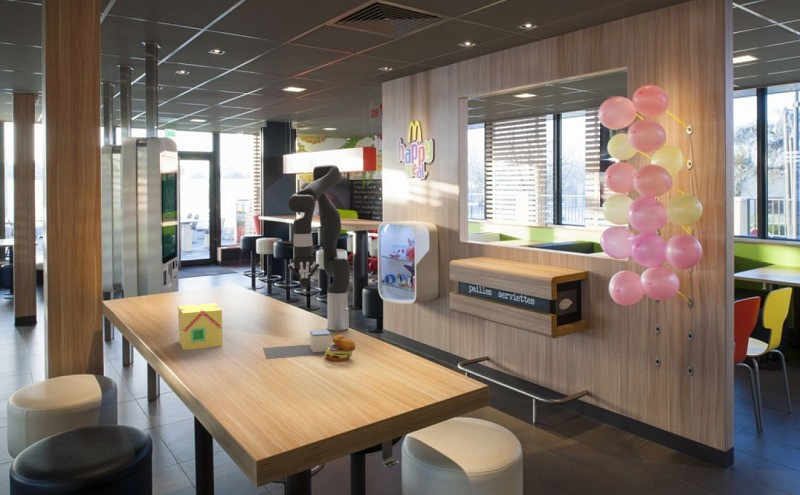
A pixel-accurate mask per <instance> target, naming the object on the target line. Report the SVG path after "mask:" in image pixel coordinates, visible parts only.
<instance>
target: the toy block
mask: <svg viewBox="0 0 800 495" xmlns="http://www.w3.org/2000/svg"><path fill="white" fill-rule="evenodd" d="M177 310H178V311H177V315H178V342H179V344H180V346H181V348H182V349H183V351H187V350H197V349H206V348H215V347H216V348H217V347H223V309H222V308H220V307H219V306H218V304H217V303H203V304H196V305H195V304H190V305H188V304H187V305H179V306H177Z"/></svg>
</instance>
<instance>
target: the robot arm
mask: <svg viewBox="0 0 800 495" xmlns="http://www.w3.org/2000/svg"><path fill="white" fill-rule="evenodd" d="M312 175H313V176H312V177H313V178H312V179H313V181H311V182H309V183H308V184H306V186H305V187H304V188H303V189H302V190H299V191H297V192H295V193H293V194H292V195H291V196H290V197H289V199H288V201H287V202H288V204H287V206H288V208H289V210H290V212H293V213H302V214H303V213H304V215H303V216H302V217H299V218H296V219H294V221H293V259H292V262H291V263H290V264H287V268H288V269H289V270H290V271H291V272H292V273H293V275H294V276H295V277H296V278H299V281H300V284H299V285H300V287H302V288H307V287H308V285H309V278H310V277H313V275H314V274H315V272H316V271H317V270H318V268H319V267H320V264H319V263H318V262H316V261H315V259H314V253H313V252H314V249H313V248H314V247H313V246H314V243H313V234H312V223H313V222H312V221H313V217H314V212H315V209H316V203H317V206H318V213H319V214H318V215H319V222H320V223H319V224H320V229H321V237H322V240H321V241H322V250H323V254H322V255H323V257H322V258H323V270H324V273H325V275H327V276H328V277H332V278H333V282H332V283H331V284H329V285H328V286H327V288H326V289H327V290H326V291H327V324H326V325H327V330H328V331H345V330H349V329H348V328H349V326H350V325H349V323H350V322H349V320H350V319H349V318H350V317H349V316H350V313H349V311H350V310H349V308H348V294H349V292H348V289H349V286H350V279H351V277H350V276H351V266H350V262H349V260H348V259H346V257H345V258H344V257H339V256H338V250H337V245H338V244H337V243H338V240H339V237H340V236H341V235H340V234H341V232H342V222H341V221H342V220H341V214H340V212H339V210H338V208H337V207H336V206H335V205H334V204H333V203H334V202H332V201H331V199H330V198H329V196H328V193H327V191H328V190H330V189H332V188H333V187H335V186H336V185H338V183H339V182H340V180H341V172H340V169H339V167H338V166H336V165H334V164H326V165H316V166H314V167H313V172H312ZM295 267H296V269H298V272H299V273H298V272H297V270H296V269H295ZM311 267H312V268H311ZM310 268H311V269H310ZM346 327H347V328H346Z"/></svg>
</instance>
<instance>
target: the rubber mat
mask: <svg viewBox="0 0 800 495" xmlns="http://www.w3.org/2000/svg"><path fill="white" fill-rule="evenodd" d="M262 349H263V353H264V355H265V359H266V360H272V359H273V360H274V359H287V358H297V357H298V358H299V357H310V356H312V357H313V356H323V355H324V356H325V354H326V351H321V352H313V351H312V349H311V348H310V344H297V345H286V346H271V347H262Z"/></svg>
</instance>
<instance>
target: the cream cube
mask: <svg viewBox="0 0 800 495" xmlns="http://www.w3.org/2000/svg"><path fill="white" fill-rule="evenodd" d="M309 332H310V333H309V334H310V335H309V336H310V342H309V343H310V344H309V345H310V348H311V349H312V351H313V352H321V351H327V348H328V347H329V346H332V345H331V344H332V343H331V342H332V339H331V338H332V336H331V335H332V332H330V330H329V329H317V330H316V329H313V330H310V331H309Z"/></svg>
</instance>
